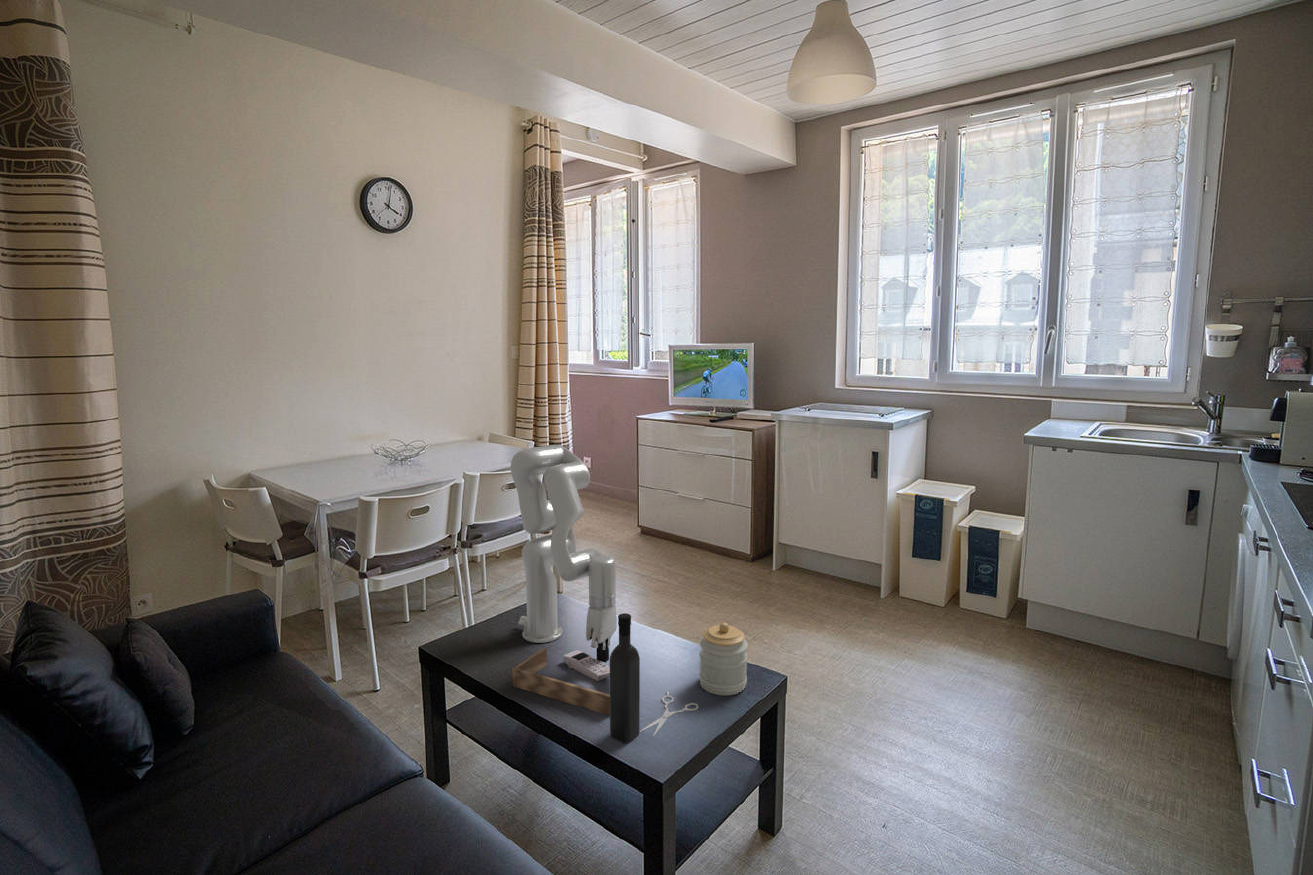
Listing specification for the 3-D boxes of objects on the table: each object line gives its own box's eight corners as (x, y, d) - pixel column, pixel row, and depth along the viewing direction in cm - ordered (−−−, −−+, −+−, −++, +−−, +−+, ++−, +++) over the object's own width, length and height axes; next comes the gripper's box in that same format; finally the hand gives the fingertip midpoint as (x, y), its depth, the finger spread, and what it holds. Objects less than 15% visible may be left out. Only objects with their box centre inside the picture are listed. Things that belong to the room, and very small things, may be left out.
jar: (746, 673, 189) (747, 614, 187) (747, 698, 177) (749, 634, 174) (699, 671, 191) (700, 612, 188) (698, 695, 178) (699, 632, 175)
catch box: (512, 686, 182) (512, 668, 181) (544, 663, 194) (543, 647, 193) (611, 715, 168) (611, 697, 167) (638, 689, 180) (638, 672, 179)
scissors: (702, 702, 174) (664, 740, 157) (702, 704, 174) (664, 743, 157) (667, 691, 179) (626, 727, 162) (667, 693, 179) (626, 730, 162)
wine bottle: (607, 736, 159) (607, 616, 155) (622, 725, 164) (622, 608, 159) (627, 745, 156) (627, 622, 151) (641, 733, 161) (641, 614, 156)
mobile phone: (615, 672, 178) (557, 642, 195) (615, 693, 179) (557, 661, 196) (631, 665, 182) (573, 636, 199) (631, 685, 183) (573, 655, 200)
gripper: (604, 588, 199) (604, 647, 201) (576, 606, 185) (577, 668, 188) (626, 592, 195) (626, 652, 198) (600, 611, 182) (600, 674, 185)
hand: (602, 660), depth 193 cm, fingers closed
